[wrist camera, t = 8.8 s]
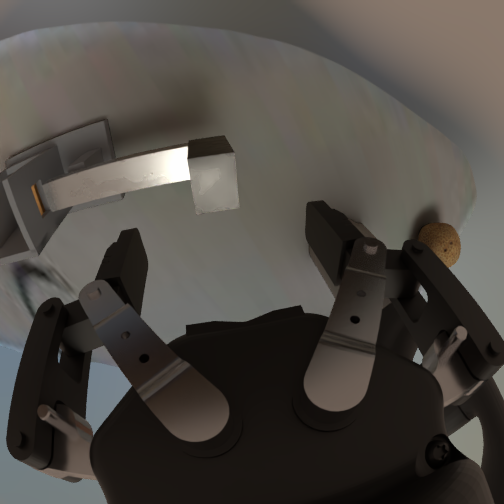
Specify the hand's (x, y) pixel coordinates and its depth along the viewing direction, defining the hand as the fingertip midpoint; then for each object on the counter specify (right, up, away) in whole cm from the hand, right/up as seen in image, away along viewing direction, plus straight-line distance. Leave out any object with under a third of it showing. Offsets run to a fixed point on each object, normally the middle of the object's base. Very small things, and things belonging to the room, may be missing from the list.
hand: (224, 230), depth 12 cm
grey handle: (-10, +6, +10) cm, 15 cm away
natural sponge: (+35, +3, +33) cm, 48 cm away
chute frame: (-22, +9, +14) cm, 28 cm away
